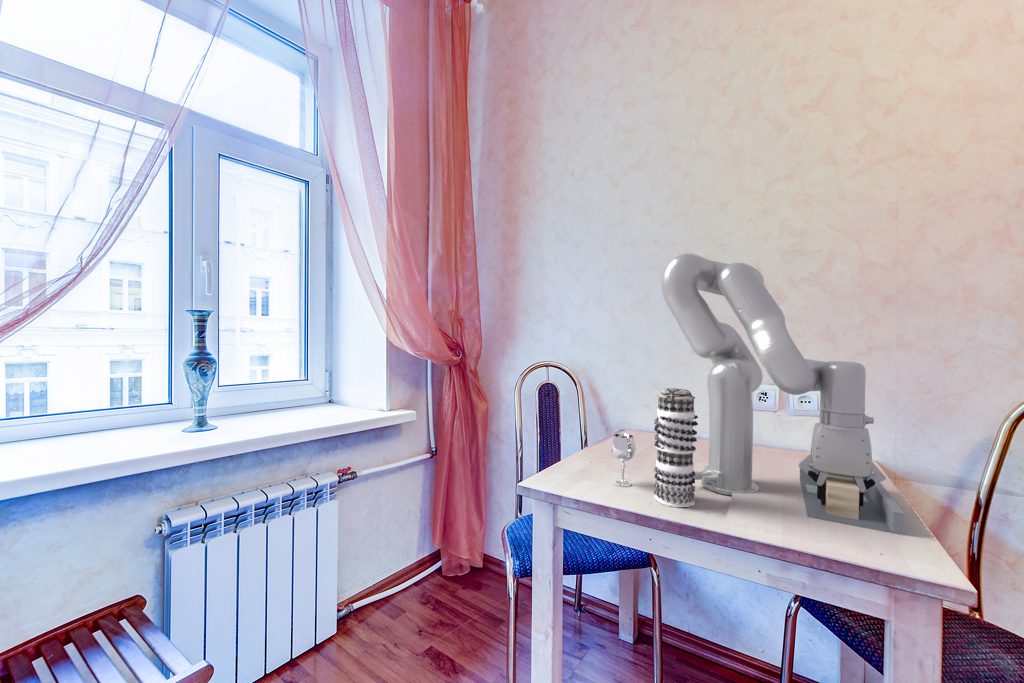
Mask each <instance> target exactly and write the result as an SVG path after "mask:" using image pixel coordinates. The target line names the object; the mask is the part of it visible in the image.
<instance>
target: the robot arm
mask: <svg viewBox="0 0 1024 683" xmlns="http://www.w3.org/2000/svg"><path fill="white" fill-rule="evenodd" d="M764 280H765V279H764V277H763V274H762V272H761V271H760V270H759V269H757V268H755V267H754V266H752V265H750V264H748V263H744V262H732V263H725V262H721V261H716V260H710V259H707V258H705V257H703V256H700V255H698V254H694V253H682V254H678V255H676V256H675V257H674V258H672V259H671V260H670V261H669V262H668V264H667V265H666V267H665V269H664V271H663V274H662V278H661V291H662V295H663V299H664V301H665V303H666V306H667V307H668V309H669V310H670V312H671V314H672V316H673V317H674V319H675V321H676V322H677V325H678V326H679V328H680V330H681V331H682V333H683V335H684V336H685V338H686V340H687V342H688V343H689V346H690V347H691V348H692V351H693V352H694V353H695V354H696V355H697V356H699V357H700V358H704V359H710V361H711V362H712V364H713V366H712V367H711V369H710V370H709V373H708V375H707V391H708V392H707V395H708V403H709V404H708V405H709V414H708V415H709V416H708V418H709V431H708V433H709V434H708V437H709V438H708V442H709V443H708V466H707V465H706V466H704V469H702V470H701V471H694V472H695V476H694V477H693V478H694V479H695V481H696V480H698V481H699V480H701V481H700V482H701V485H702V486H703V487H704V488H705V489H708V491H712V492H714V493H716V494H717V493H718V494H720V495H725V496H726V495H727V496H731V497H732V495H733V493H734V494H753V493H757V492H759V490H760V486H759V485H758V484H757V483H755V482H753V453H754V452H753V451H754V449H753V446H754V445H753V443H754V441H753V440H754V439H753V438H754V408H753V406H754V405H753V397H752V396H753V395H752V394H753V393H754V392H756V391H757V390H758V389H759V388H760V386H761V385H762V382H763V376H764V375H763V372H762V369H761V366H760V365H759V363H758V361H757V360H756V358H755V356H754V355H753V353H752V352H751V351H750V349H749V347H748V346H747V344H746V343H745V340H744V339H742V336H741V334H739V333H738V331H737V330H736V329H735V328H734V327H733V326H731V325H730V324H728V323H726V322H721V321H719V320H718V318H717V317H716V316H715V314H714V313H713V311H712V309H711V307H710V306H709V305H708V303H707V301H706V300H705V299H704V297H703V296H702V295H701V293H700V292H699V291H702V292H704V293H705V292H706V293H711V294H715V295H719V296H722V297H724V298H725V300H726V302H727V303H728V305H729V306H730V308H731V309H732V310H733V312H734V314H735V316H736V317H737V319H738V320H739V322H740V323H741V325H742V326H743V329H744V330H745V332H746V335H747V337H748V339H749V341H750V343H751V345H752V347H753V349H754V352H755V354H756V356H757V358H758V359H759V361H760V363H761V365H762V366H763V367H764V369H765V371H766V372H767V374H768V375H769V377H770V378H771V380H772V382H773V383H774V384H775V386H776V387H777V388H778V389H780V390H781V391H783V392H784V393H786V394H788V395H793V396H795V395H796V396H798V395H803V394H806V393H809V392H820V393H819V395H820V396H819V422H815V423H814V426H813V431H812V435H811V448H810V453H809V454H808V455H806V457H804V458H803V459H802V460H801V461H800V462H799V463H798V468H799V470H800V469H802V470H803V471H804V472H805V473H807V474H808V475H809V476H810V477H811V478H812V479H813V480H814V481H815V482H816V483H817V499H820V500H821V504H822V505H826V486H825V482H824V481H825V479H826V477H827V474H828V473H830V474H837V475H844V476H851V477H854V480H855V483H856V485H857V487H858V488H859V511H860V506H862V507H863V501H864V492H866V490H867V489H869V488H871V487H872V486H874V485H875V484H877V483H879V482H880V483H882V482H883V481H886V479H887V477H886V475H885V474H884V473H883V472H882V471H881V470H880V469H879V468H878V466H877V465H876V464H875V463H874V462H873V454H872V452H873V451H872V442H871V436H870V432H869V429H868V428H867V427H866V425H870V424H872V425H873V424H874V423H875V422H874V420H875V419H874V417H871V416H868V415H866V414H865V411H866V410H865V409H866V381H867V380H866V377H867V376H866V374H867V373H866V372H867V371H866V367H865V365H863V364H862V363H861V362H856V361H840V360H838V361H835V360H832V361H831V360H829V361H820V360H814V359H809V358H807V359H806V358H805V357H804V355H803V354H802V353H801V351H800V350H799V349H798V347H797V346H796V344H795V342H794V341H793V339H792V337H791V335H790V333H789V331H788V329H787V325H786V318H785V317H786V316H785V314H784V312H783V309H781V307H780V306H779V304H778V303H777V301H776V300H775V299H774V297H773V296H772V294H771V293H770V291H769V290H768V289H767V287H766V286H765V281H764ZM810 464H812V466H813V468H814V469H815V470H817V471H818V473H817V474H816V473H815V472H814V471H813V470H812V469H810V468H809V467H808V466H809V465H810ZM872 473H873V474H874V475H873V476H872V477H870V476H871V475H872ZM867 477H870V478H867ZM863 478H867V479H865V480H864V481H863Z"/></svg>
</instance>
